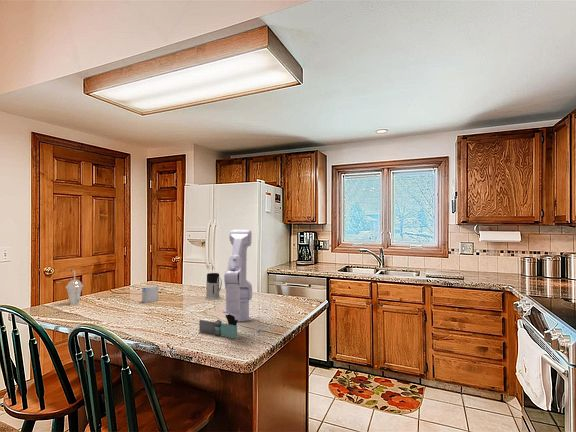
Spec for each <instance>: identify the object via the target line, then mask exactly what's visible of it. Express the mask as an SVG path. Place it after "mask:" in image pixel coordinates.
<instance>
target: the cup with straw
mask: <svg viewBox="0 0 576 432" xmlns="http://www.w3.org/2000/svg"><path fill="white" fill-rule="evenodd" d="M70 271H71V272H73V279H72V280H70V281H69V282H68V283H67V284H66V286H65V289H66V291H67V295H68V304H69V306H77V305H79V304H80V300H81V299H80V298H81V292H82V289H83V287H84V284H82V282H81V281H80V280H78V279H76V270H73V269H71V270H70Z"/></svg>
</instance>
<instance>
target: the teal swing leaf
mask: <svg viewBox="0 0 576 432" xmlns="http://www.w3.org/2000/svg"><path fill="white" fill-rule="evenodd" d="M215 331H217V332H219V331H221V336H222V337H226V338H231V339H233V340H234V339H235V340H237V339H238V325H237V326H236V325H231V324H228V323H226V322H222V323H221V326H220V327H216V326H215ZM221 336H220V337H221Z"/></svg>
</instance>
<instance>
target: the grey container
mask: <svg viewBox="0 0 576 432" xmlns="http://www.w3.org/2000/svg"><path fill="white" fill-rule="evenodd" d="M222 282H223V280H222V278H221V277H220V273H219V272H210V273H207V274H206V282H205V283H206V289H205V291H206V292H205V293H206V294H205V295H206V296H205V300H207V301H215V300H219V299H221V296H220V292H221V290H222V286H223V285H222V284H223V283H222Z"/></svg>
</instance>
